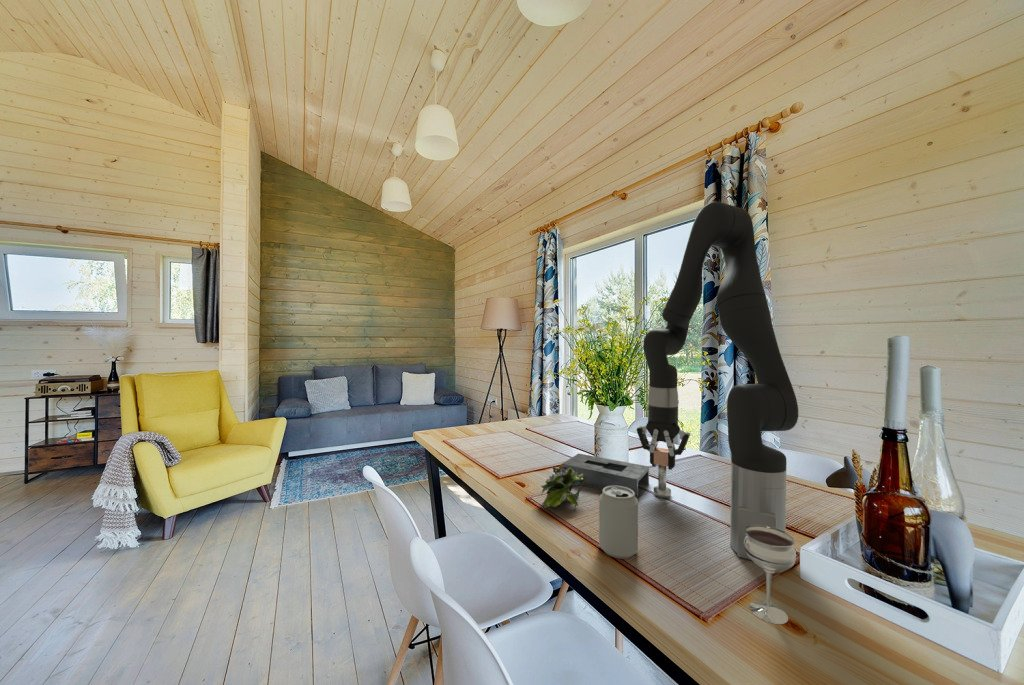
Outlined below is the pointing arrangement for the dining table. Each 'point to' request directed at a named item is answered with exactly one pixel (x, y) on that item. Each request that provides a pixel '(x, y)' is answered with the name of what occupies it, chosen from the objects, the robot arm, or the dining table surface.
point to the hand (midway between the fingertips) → (662, 467)
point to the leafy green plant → (562, 486)
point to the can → (618, 522)
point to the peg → (661, 472)
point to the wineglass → (769, 564)
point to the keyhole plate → (608, 472)
